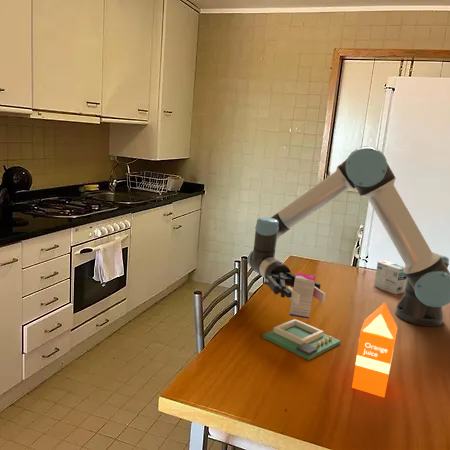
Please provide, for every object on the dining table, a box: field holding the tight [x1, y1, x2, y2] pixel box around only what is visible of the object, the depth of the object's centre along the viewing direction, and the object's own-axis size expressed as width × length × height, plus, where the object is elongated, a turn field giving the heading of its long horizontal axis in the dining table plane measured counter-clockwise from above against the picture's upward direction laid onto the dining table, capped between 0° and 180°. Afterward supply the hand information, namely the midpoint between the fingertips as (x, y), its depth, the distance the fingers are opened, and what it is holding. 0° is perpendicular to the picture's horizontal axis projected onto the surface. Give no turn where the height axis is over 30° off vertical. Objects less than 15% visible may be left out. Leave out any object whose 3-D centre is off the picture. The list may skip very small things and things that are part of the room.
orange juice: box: [351, 301, 398, 398], centre depth 106 cm, size 8×9×20 cm
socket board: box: [262, 318, 342, 361], centre depth 128 cm, size 16×16×2 cm
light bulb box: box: [373, 260, 407, 295], centre depth 180 cm, size 11×7×11 cm, turn 34°
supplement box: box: [288, 272, 316, 320], centre depth 128 cm, size 6×6×12 cm
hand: (311, 298), depth 123 cm, fingers closed on supplement box, 8 cm apart
